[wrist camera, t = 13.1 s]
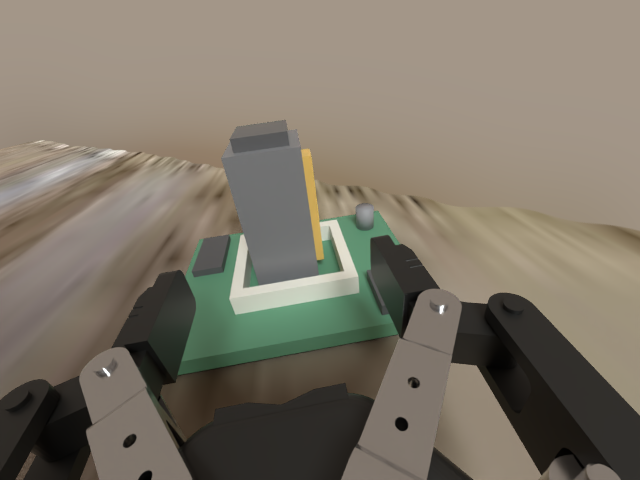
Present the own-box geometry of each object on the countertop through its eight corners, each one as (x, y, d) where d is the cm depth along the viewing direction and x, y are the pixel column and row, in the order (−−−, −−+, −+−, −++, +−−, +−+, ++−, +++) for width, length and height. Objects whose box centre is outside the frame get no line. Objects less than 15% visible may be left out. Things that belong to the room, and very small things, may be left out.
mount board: (157, 379, 18) (134, 345, 16) (203, 249, 29) (192, 222, 28) (443, 325, 19) (449, 289, 17) (377, 221, 30) (377, 192, 29)
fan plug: (261, 291, 22) (216, 143, 16) (263, 256, 25) (228, 126, 19) (327, 280, 22) (309, 130, 16) (320, 247, 25) (303, 115, 20)
